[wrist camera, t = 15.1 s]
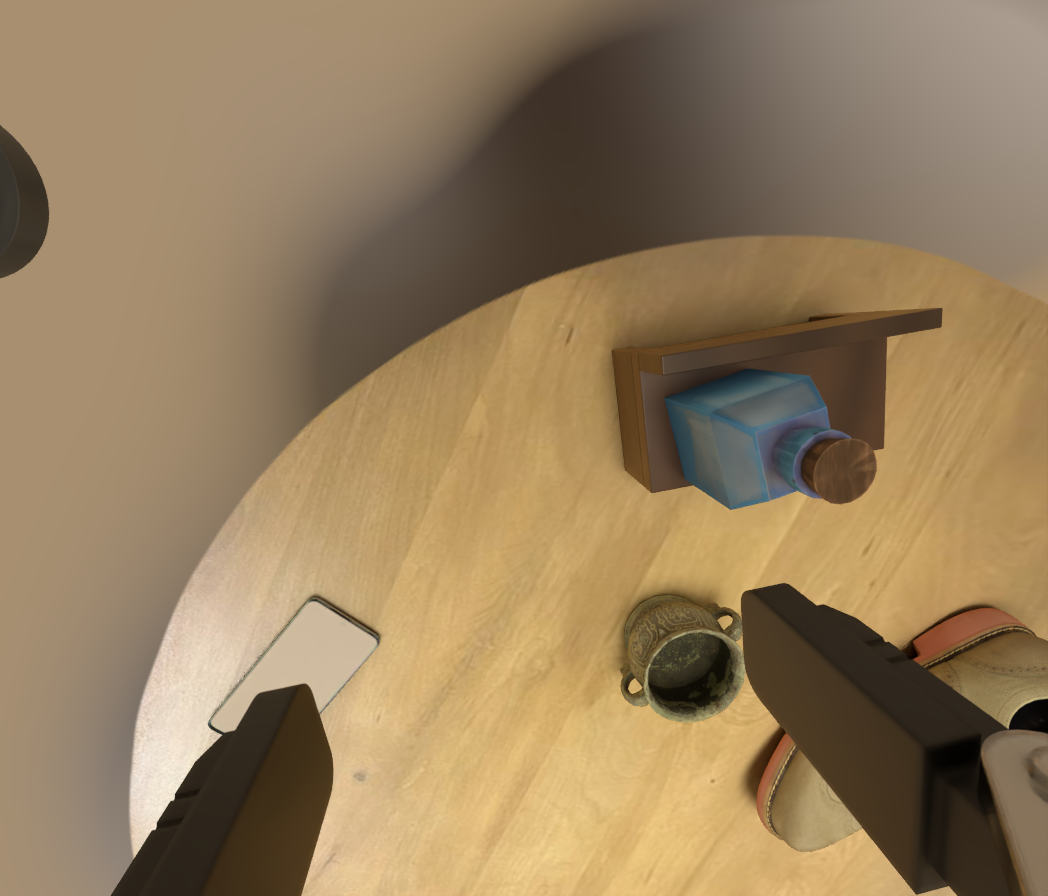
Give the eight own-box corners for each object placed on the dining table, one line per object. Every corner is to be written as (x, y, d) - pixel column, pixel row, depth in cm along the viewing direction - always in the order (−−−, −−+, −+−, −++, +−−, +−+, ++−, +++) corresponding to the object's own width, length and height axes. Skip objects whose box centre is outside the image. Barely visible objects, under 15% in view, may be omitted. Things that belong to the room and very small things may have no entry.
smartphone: (204, 726, 41) (311, 596, 39) (207, 721, 41) (313, 592, 40) (277, 764, 42) (382, 641, 41) (279, 759, 43) (384, 637, 41)
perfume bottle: (765, 450, 35) (914, 508, 23) (685, 479, 35) (795, 552, 23) (748, 368, 33) (898, 386, 22) (664, 398, 33) (770, 432, 21)
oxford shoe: (718, 767, 49) (793, 898, 38) (973, 568, 47) (1135, 643, 36) (775, 826, 52) (861, 964, 40) (1019, 640, 50) (1182, 731, 38)
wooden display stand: (625, 470, 40) (674, 513, 31) (611, 350, 38) (661, 355, 28) (826, 432, 42) (934, 462, 32) (825, 314, 39) (943, 307, 30)
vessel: (636, 698, 46) (662, 754, 40) (584, 636, 44) (603, 685, 38) (740, 625, 45) (782, 670, 39) (692, 558, 43) (730, 594, 37)
